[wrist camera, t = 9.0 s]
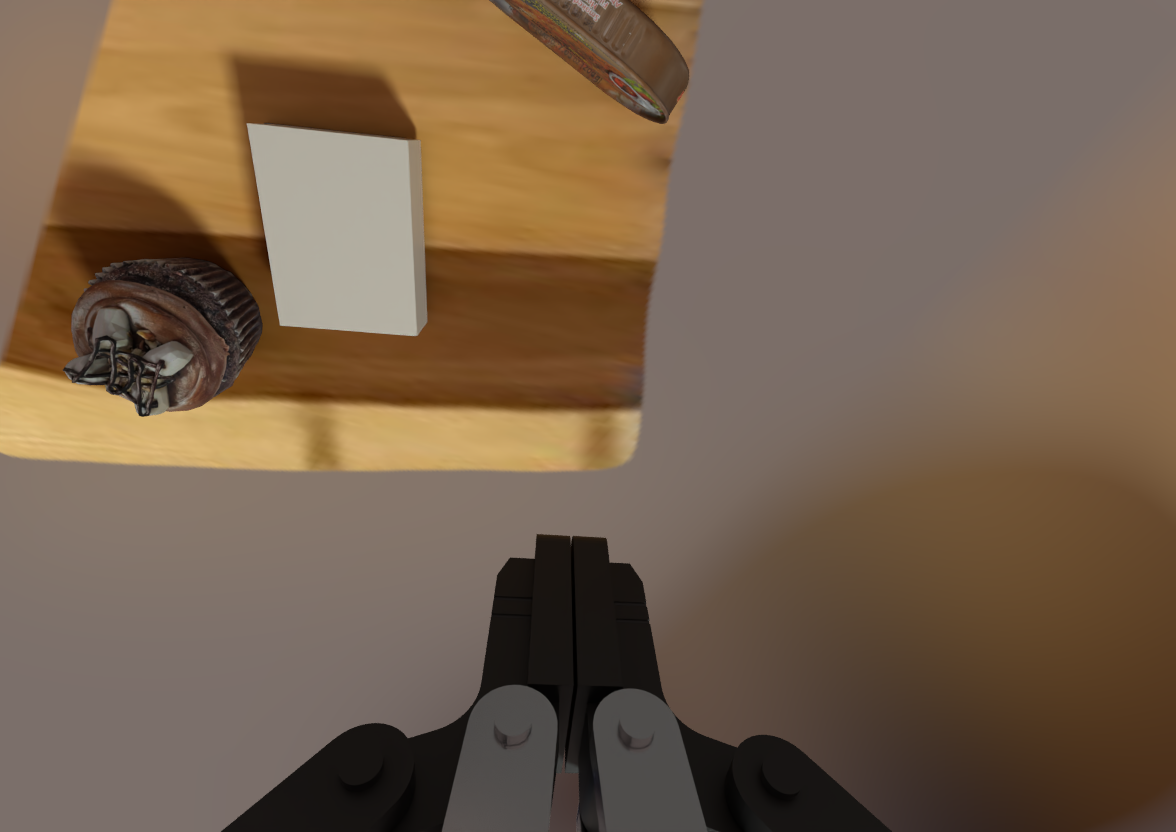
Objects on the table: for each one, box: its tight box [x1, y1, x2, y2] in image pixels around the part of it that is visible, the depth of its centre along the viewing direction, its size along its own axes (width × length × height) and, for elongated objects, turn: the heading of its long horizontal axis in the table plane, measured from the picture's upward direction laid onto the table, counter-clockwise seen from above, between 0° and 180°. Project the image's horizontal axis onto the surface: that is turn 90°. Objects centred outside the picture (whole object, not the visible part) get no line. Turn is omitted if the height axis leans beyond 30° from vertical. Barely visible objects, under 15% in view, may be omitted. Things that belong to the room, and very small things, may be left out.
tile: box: [247, 123, 427, 336], centre depth 36 cm, size 12×4×9 cm
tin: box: [490, 0, 689, 124], centre depth 29 cm, size 15×3×8 cm, turn 56°
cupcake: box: [63, 258, 262, 417], centre depth 35 cm, size 10×10×10 cm
